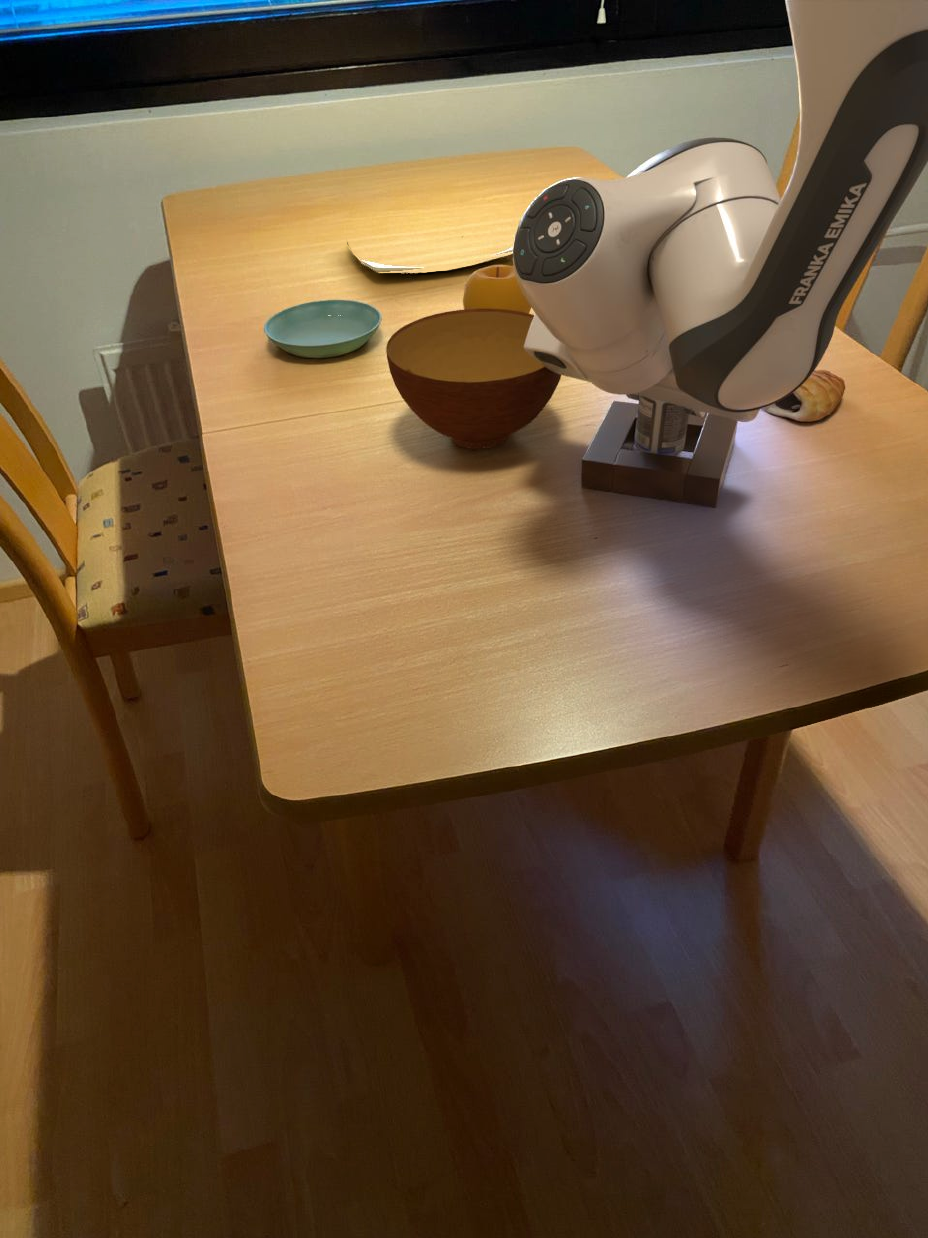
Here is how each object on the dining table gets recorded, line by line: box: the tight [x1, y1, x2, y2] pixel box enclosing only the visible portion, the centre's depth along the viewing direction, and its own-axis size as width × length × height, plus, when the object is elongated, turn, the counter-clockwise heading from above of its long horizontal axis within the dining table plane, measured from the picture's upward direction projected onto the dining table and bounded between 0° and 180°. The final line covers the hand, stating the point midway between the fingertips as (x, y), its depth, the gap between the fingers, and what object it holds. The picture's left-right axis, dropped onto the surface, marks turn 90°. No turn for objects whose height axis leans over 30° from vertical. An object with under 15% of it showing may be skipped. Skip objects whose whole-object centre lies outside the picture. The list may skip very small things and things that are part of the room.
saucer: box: [263, 299, 383, 359], centre depth 117 cm, size 15×15×3 cm
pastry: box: [763, 369, 846, 423], centre depth 98 cm, size 9×7×4 cm
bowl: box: [385, 309, 562, 450], centre depth 94 cm, size 18×18×10 cm
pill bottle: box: [634, 395, 689, 456], centre depth 86 cm, size 5×5×8 cm
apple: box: [462, 264, 532, 314], centre depth 113 cm, size 8×8×9 cm
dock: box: [580, 400, 739, 508], centre depth 90 cm, size 13×13×3 cm
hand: (668, 400), depth 87 cm, fingers closed on pill bottle, 5 cm apart
